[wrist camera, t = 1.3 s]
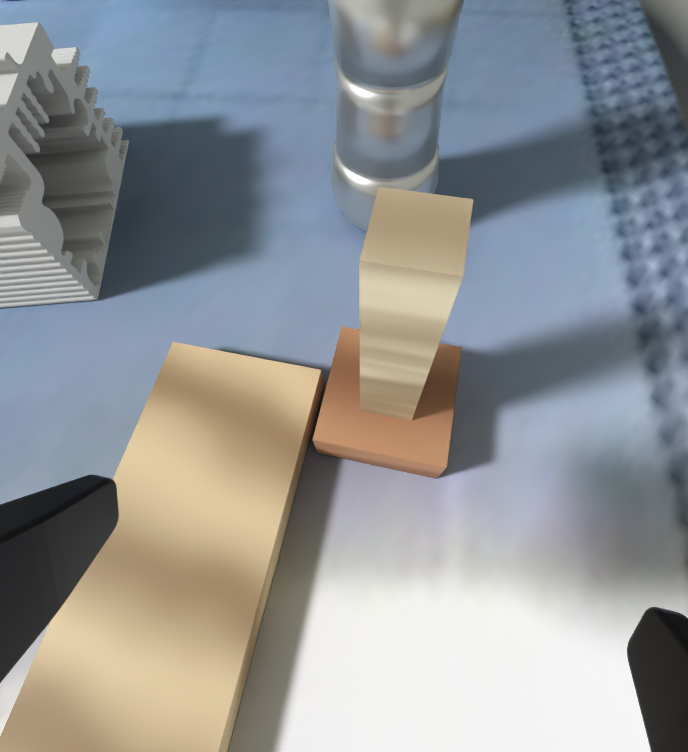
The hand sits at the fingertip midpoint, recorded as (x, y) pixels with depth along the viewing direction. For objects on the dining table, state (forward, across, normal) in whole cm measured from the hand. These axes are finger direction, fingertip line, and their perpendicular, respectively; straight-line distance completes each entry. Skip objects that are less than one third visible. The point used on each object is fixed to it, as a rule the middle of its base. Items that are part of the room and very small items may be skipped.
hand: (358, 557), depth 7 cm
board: (+7, +8, +11) cm, 16 cm away
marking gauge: (+15, 0, +4) cm, 15 cm away
